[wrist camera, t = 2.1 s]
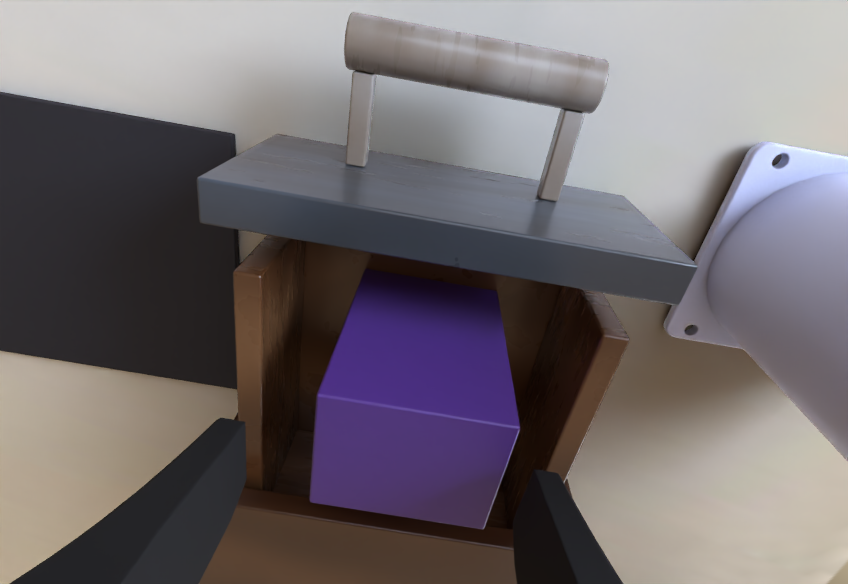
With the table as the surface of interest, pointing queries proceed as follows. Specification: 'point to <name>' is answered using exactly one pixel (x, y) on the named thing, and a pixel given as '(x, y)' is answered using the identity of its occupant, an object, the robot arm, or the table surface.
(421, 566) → the cabinet
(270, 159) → the drawer
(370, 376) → the snack box
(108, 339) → the mat
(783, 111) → the table surface
